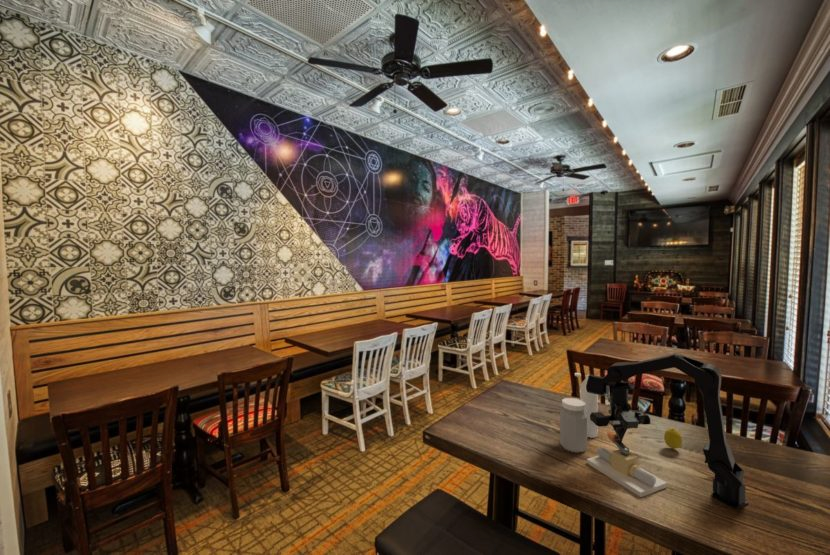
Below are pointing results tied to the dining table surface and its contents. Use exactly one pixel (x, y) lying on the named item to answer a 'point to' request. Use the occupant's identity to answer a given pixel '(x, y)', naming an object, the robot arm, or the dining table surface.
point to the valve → (626, 472)
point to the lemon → (673, 438)
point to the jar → (573, 425)
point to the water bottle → (589, 407)
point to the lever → (618, 443)
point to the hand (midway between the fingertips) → (620, 441)
